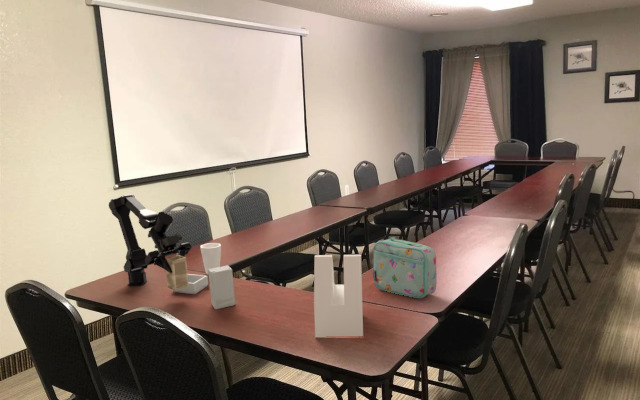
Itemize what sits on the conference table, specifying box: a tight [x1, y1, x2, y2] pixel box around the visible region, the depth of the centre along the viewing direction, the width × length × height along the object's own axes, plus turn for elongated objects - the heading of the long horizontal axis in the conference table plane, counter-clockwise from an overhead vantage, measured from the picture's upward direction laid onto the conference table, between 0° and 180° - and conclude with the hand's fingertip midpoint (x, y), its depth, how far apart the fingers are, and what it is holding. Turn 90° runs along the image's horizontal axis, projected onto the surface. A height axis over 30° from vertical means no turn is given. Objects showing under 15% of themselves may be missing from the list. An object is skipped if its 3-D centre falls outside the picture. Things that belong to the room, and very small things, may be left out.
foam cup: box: [200, 242, 222, 276], centre depth 235 cm, size 10×9×13 cm
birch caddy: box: [165, 254, 189, 290], centre depth 202 cm, size 6×6×12 cm
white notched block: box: [313, 254, 364, 337], centre depth 171 cm, size 19×15×25 cm
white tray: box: [172, 273, 209, 295], centre depth 215 cm, size 10×10×4 cm
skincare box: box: [207, 264, 236, 310], centre depth 194 cm, size 8×6×15 cm
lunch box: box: [371, 236, 437, 299], centre depth 200 cm, size 27×10×21 cm, turn 47°
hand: (178, 270), depth 201 cm, fingers closed on birch caddy, 6 cm apart
